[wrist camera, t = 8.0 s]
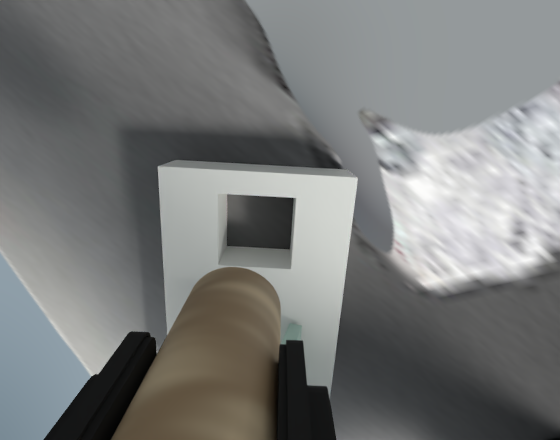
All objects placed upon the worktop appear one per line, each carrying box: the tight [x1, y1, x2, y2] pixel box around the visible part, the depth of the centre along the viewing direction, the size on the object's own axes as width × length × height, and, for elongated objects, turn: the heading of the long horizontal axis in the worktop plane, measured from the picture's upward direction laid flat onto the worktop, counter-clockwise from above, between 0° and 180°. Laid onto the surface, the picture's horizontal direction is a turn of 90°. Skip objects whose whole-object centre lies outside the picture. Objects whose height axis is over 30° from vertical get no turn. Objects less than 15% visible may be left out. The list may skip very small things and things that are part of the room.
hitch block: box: [158, 160, 358, 399], centre depth 27 cm, size 14×20×4 cm
